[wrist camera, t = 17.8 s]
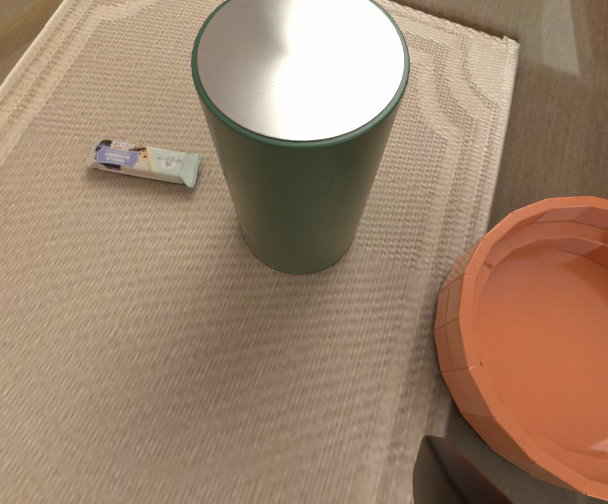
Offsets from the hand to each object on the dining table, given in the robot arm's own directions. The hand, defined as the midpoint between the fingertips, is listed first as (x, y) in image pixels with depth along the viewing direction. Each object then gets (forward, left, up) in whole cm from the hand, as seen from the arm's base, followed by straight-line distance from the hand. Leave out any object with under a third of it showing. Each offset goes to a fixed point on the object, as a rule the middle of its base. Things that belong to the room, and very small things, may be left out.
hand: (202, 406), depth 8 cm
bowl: (+16, +2, -13) cm, 20 cm away
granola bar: (-6, +14, -13) cm, 20 cm away
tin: (+3, +10, -13) cm, 16 cm away
